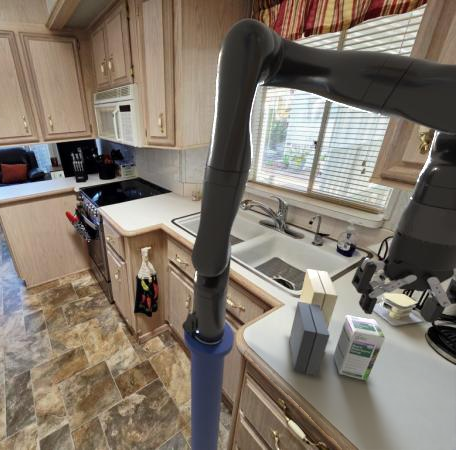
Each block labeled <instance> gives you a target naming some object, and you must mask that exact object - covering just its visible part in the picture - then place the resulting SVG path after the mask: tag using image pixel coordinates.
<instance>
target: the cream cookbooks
mask: <svg viewBox="0 0 456 450" xmlns="http://www.w3.org/2000/svg"><path fill="white" fill-rule="evenodd" d="M338 297H339V295H338V292H337V290H336V288H335V286H334V283H333V281H332V279H331V276H330V274H329V272H328V271H325V270H317V269H309V268H306V270H305V275H304V279H303V283H302V288H301V292H300V296H299V301H298V302H304V303H308V304H309V303H310V304H316V305H320V308H321V311H322V314H323V317H324V320H325V323H326V326H327V329H328V330H329V326H330V323H331V320H332V317H333V313H334V310H335V307H336V303H337V300H338Z"/></svg>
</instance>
